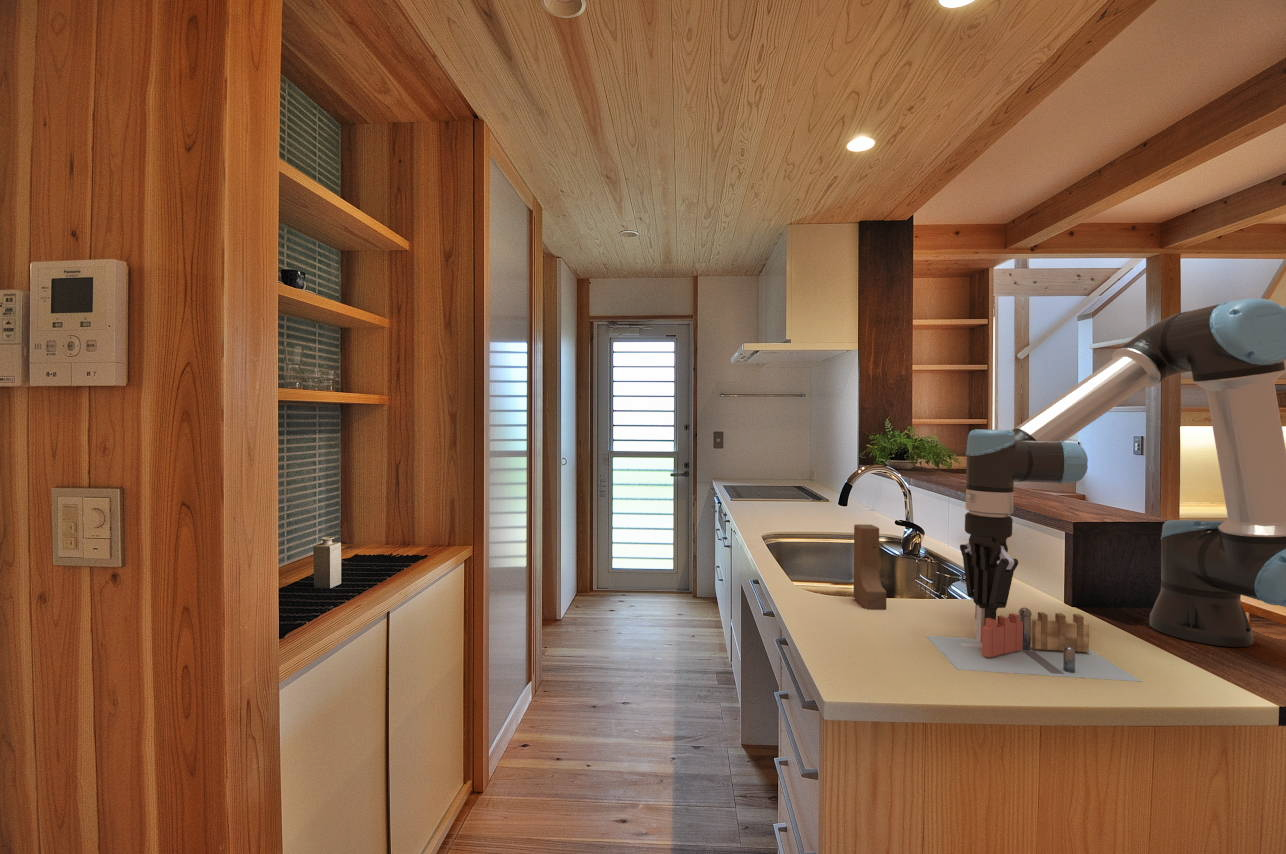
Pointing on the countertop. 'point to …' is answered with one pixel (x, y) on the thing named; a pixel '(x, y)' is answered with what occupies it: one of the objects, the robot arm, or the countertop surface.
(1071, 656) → the peg
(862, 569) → the wooden block
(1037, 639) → the fence fixed
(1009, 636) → the fence panel
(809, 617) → the countertop surface
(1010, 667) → the card
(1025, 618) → the post
